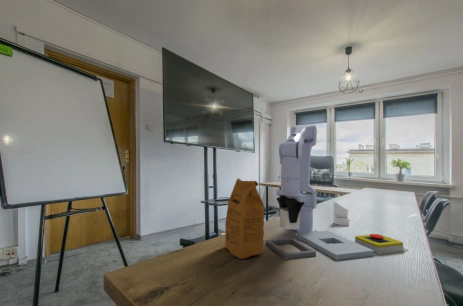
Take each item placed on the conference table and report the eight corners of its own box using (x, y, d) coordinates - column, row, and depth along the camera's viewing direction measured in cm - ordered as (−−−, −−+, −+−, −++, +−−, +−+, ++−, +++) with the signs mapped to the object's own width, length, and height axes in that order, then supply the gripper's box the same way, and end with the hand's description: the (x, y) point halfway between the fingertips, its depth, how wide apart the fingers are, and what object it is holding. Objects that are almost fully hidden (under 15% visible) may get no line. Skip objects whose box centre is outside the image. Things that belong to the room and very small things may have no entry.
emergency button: (350, 232, 75) (382, 229, 79) (350, 245, 74) (382, 242, 79) (374, 242, 66) (409, 238, 70) (375, 256, 65) (410, 252, 70)
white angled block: (323, 216, 104) (333, 201, 104) (343, 228, 102) (352, 213, 102) (325, 218, 100) (335, 202, 100) (345, 230, 99) (356, 214, 98)
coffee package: (247, 242, 74) (248, 178, 75) (267, 256, 62) (268, 180, 64) (220, 246, 70) (222, 178, 71) (236, 262, 58) (238, 181, 60)
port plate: (296, 237, 80) (296, 232, 80) (327, 234, 84) (327, 230, 84) (336, 260, 61) (336, 254, 61) (374, 255, 65) (374, 250, 65)
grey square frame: (266, 243, 73) (266, 240, 73) (292, 241, 76) (292, 237, 76) (284, 259, 61) (285, 254, 61) (316, 255, 64) (316, 251, 64)
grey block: (279, 226, 70) (280, 207, 70) (293, 225, 71) (293, 207, 71) (285, 229, 66) (285, 209, 67) (299, 228, 68) (299, 209, 68)
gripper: (268, 177, 75) (268, 216, 75) (291, 180, 61) (291, 228, 61) (286, 177, 77) (286, 215, 77) (312, 180, 63) (312, 226, 63)
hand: (289, 221), depth 69 cm, fingers closed on grey block, 3 cm apart
